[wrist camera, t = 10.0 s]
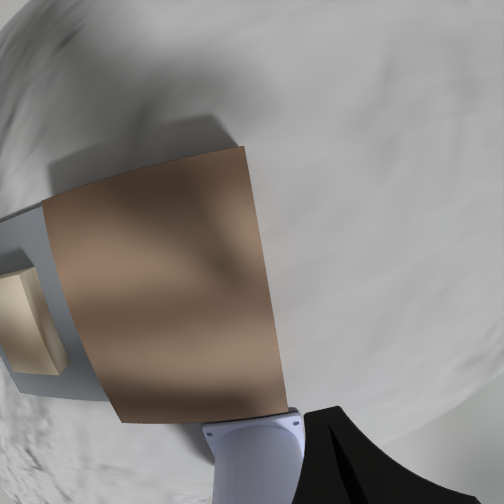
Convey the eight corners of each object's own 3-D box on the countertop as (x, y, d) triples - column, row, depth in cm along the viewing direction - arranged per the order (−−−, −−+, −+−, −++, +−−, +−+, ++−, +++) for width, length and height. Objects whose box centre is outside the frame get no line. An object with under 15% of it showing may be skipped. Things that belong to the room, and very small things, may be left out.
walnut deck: (283, 384, 20) (288, 411, 17) (133, 398, 20) (121, 422, 17) (243, 152, 16) (243, 145, 13) (67, 197, 16) (41, 201, 13)
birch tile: (14, 371, 17) (25, 361, 19) (59, 375, 17) (70, 362, 19) (-22, 284, 15) (-7, 277, 17) (19, 274, 15) (35, 266, 17)
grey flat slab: (129, 398, 20) (128, 401, 20) (22, 390, 20) (20, 392, 20) (63, 198, 16) (60, 199, 16) (-35, 239, 16) (-38, 240, 16)
